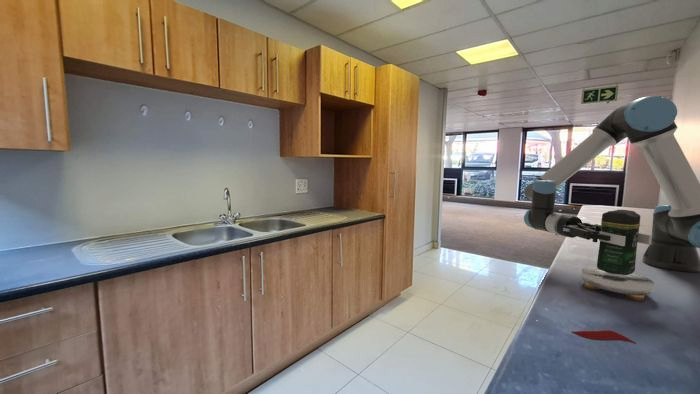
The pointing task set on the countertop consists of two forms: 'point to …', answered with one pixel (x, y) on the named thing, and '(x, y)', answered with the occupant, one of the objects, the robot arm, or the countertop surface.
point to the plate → (617, 283)
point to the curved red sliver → (602, 335)
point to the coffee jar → (618, 256)
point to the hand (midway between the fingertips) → (637, 240)
